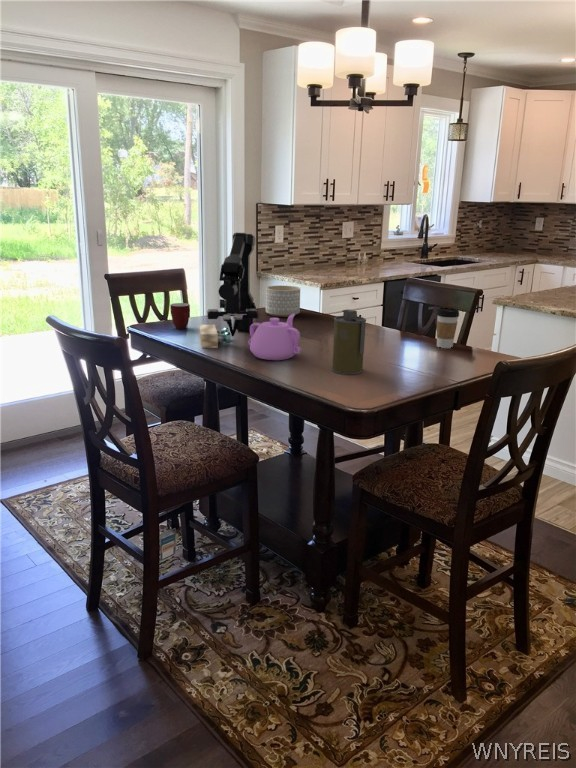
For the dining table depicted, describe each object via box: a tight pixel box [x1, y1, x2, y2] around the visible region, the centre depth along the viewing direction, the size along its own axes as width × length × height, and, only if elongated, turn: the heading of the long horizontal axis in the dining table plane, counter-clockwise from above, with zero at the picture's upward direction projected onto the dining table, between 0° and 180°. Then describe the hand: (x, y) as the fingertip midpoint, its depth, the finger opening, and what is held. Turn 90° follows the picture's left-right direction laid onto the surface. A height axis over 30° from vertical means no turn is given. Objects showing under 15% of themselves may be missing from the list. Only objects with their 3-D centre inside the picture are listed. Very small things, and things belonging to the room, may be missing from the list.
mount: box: [198, 324, 219, 349], centre depth 231 cm, size 6×17×5 cm, turn 10°
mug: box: [169, 302, 191, 330], centre depth 253 cm, size 11×8×10 cm
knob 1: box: [216, 327, 230, 334], centre depth 236 cm, size 8×4×4 cm, turn 100°
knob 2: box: [218, 331, 231, 345], centre depth 228 cm, size 10×4×4 cm, turn 100°
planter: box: [265, 285, 301, 318], centre depth 288 cm, size 16×16×13 cm
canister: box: [331, 308, 367, 376], centre depth 197 cm, size 11×10×20 cm
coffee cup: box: [436, 306, 460, 349], centre depth 232 cm, size 8×8×15 cm
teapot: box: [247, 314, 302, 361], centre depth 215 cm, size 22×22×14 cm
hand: (232, 336), depth 229 cm, fingers closed
